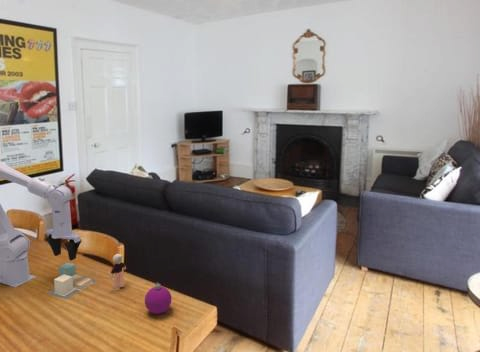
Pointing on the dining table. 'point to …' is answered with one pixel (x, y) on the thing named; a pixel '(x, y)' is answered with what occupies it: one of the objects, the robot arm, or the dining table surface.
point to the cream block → (63, 284)
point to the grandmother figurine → (118, 272)
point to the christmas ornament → (158, 299)
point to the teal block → (67, 269)
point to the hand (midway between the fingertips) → (65, 257)
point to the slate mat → (71, 291)
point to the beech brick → (80, 282)
